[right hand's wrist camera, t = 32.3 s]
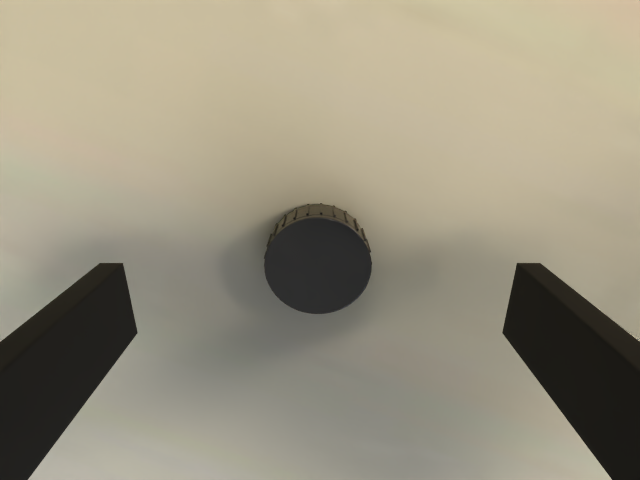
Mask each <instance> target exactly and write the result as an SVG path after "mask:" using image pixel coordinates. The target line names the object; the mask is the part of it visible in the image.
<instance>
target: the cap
mask: <svg viewBox="0 0 640 480" xmlns="http://www.w3.org/2000/svg"><path fill="white" fill-rule="evenodd" d="M370 252H371V250H370V247H369V244H368V241H367V239H366V237H365V233H364V230H363V228H360V226H359V224H358V223H357V220H356V219H353V218H352V217H351V216H350V215H349V214H347V211H342V210H340V209H338V208H335V206H328V205H322V203H320V204H318V205H309V204H307V206H304V207H300V208H298V209H297V208H295V210H294V211H292V212H290V213H289V214H287V215H286V214H285V215H284V217H283V219H282V220H281V221H280V222H279V223H278V224H277V223H276V225H275V228H274V231H273V234H271V235H270V238H269V241H268V244H267V250H266V253H265V256H264V259H265V263H264V268H265V275H266V279H267V281H268V284H269V286H270V288H271V290H272V291H273V292H274V294H275V295H276V296H277V297H278V298H279V299H280V300H281V301H282V302H284V303H285V304H286V305H288V306H290V307H291V308H294V309H296V310H298V311H301V312H306V313H312V314H324V313H331V312H335V311H337V310H340V309H342V308H344V307H346V306H348V305H350V304H351V303H352V302H354V301H355V300H356V299H357V298H358V297H359V296H360V295H361V294H362V292H363V291H364V289H365V288H366V286H367V284H368V281H369V278H370V275H371V265H372V262H371V256H370Z"/></svg>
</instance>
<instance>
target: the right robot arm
mask: <svg viewBox="0 0 640 480" xmlns="http://www.w3.org/2000/svg"><path fill="white" fill-rule="evenodd" d="M136 334H137V328H136V323H135V318H134V314H133V309H132V304H131V299H130V295H129V290H128V285H127V280H126V276H125V271H124V266H123V263H100V264H98V265H97V266H96V267H94V268H93V269H92V270H91V271H89V272H88V273H87V274H86V275H84V276H83V277H82V278H81V279H79V280H78V281H77V282H75V283H74V284H73V285H72V286H70V287H69V288H68V289H67V290H65V291H64V292H63V293H62V294H60V295H59V296H58V297H57V298H55V299H54V300H53V301H51V302H50V303H49V304H48V305H46V306H45V307H44V308H43V309H41V310H40V311H39V312H38V313H36V314H35V315H34V316H33V317H31V318H30V319H29V320H27V321H26V322H25V323H24V324H22V325H21V326H20V327H19V328H17V329H16V330H15V331H14V332H12V333H11V334H10V335H9V336H7V337H6V338H5V339H3V340H2V341H1V342H0V480H28V479H29V477H30V476H31V475H32V473H33V472H34V471H35V469H36V468H37V467H38V465H39V464H40V463H41V461H42V460H43V459H44V457H45V456H46V455H47V453H48V452H49V451H50V449H51V448H52V447H53V445H54V444H55V443H56V441H57V440H58V439H59V437H60V436H61V435H62V433H63V432H64V431H65V429H66V428H67V427H68V425H69V424H70V423H71V421H72V420H73V419H74V417H75V416H76V414H77V413H78V412H79V410H80V409H81V408H82V406H83V405H84V404H85V402H86V401H87V400H88V398H89V397H90V396H91V394H92V393H93V392H94V390H95V389H96V388H97V386H98V385H99V384H100V382H101V381H102V380H103V378H104V377H105V376H106V374H107V373H108V372H109V370H110V369H111V368H112V366H113V365H114V364H115V362H116V361H117V360H118V358H119V357H120V356H121V354H122V353H123V352H124V350H125V349H126V348H127V346H128V345H129V344H130V342H131V341H132V340H133V338H134V337H135V336H136ZM503 334H504V336H505V337H506V338H507V340H508V341H509V342H510V344H511V345H512V346H513V348H514V349H515V350H516V352H517V353H518V354H519V356H520V357H521V358H522V360H523V361H524V362H525V364H526V365H527V366H528V368H529V369H530V370H531V372H532V373H533V374H534V376H535V377H536V378H537V380H538V381H539V382H540V384H541V385H542V386H543V388H544V389H545V390H546V392H547V393H548V394H549V396H550V397H551V398H552V400H553V401H554V402H555V404H556V405H557V406H558V408H559V409H560V410H561V412H562V413H563V414H564V416H565V417H566V419H567V420H568V421H569V423H570V424H571V425H572V427H573V428H574V429H575V431H576V432H577V433H578V435H579V436H580V437H581V439H582V440H583V441H584V443H585V444H586V445H587V447H588V448H589V449H590V451H591V452H592V453H593V455H594V456H595V457H596V459H597V460H598V461H599V463H600V464H601V465H602V467H603V468H604V469H605V471H606V472H607V473H608V475H609V476H610V477H611V479H612V480H640V342H639V341H638V340H637V339H635V338H634V337H633V336H631V335H630V334H629V333H628V332H626V331H625V330H624V329H623V328H621V327H620V326H619V325H618V324H616V323H615V322H614V321H613V320H611V319H610V318H609V317H607V316H606V315H605V314H604V313H602V312H601V311H600V310H599V309H597V308H596V307H595V306H594V305H592V304H591V303H590V302H589V301H587V300H586V299H585V298H583V297H582V296H581V295H580V294H578V293H577V292H576V291H575V290H573V289H572V288H571V287H570V286H568V285H567V284H566V283H564V282H563V281H562V280H561V279H559V278H558V277H557V276H556V275H554V274H553V273H552V272H551V271H549V270H548V269H547V268H546V267H544V266H543V265H542V264H540V263H517V266H516V271H515V276H514V280H513V285H512V290H511V295H510V299H509V304H508V309H507V314H506V318H505V323H504V328H503Z"/></svg>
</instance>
